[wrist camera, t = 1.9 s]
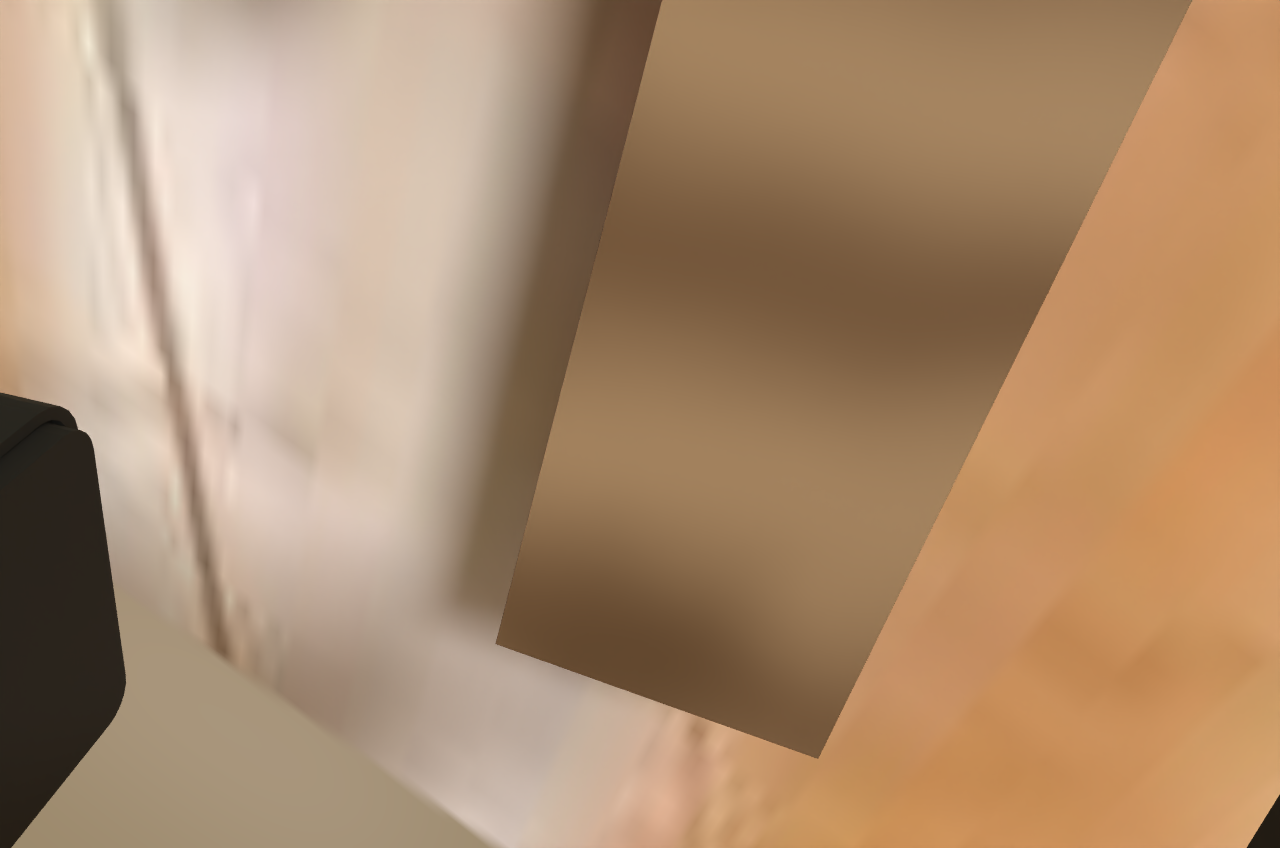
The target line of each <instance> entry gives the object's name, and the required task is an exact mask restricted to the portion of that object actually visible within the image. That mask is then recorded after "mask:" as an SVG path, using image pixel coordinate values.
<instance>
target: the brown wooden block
mask: <svg viewBox="0 0 1280 848" xmlns="http://www.w3.org/2000/svg"><path fill="white" fill-rule="evenodd" d="M1191 2H1192V0H662V2H661V6H660V10H659V14H658V18H657V22H656V26H655V29H654V33H653V37H652V41H651V45H650V49H649V53H648V56H647V60H646V64H645V68H644V72H643V76H642V80H641V84H640V87H639V91H638V95H637V99H636V103H635V107H634V111H633V114H632V118H631V122H630V126H629V130H628V134H627V138H626V142H625V145H624V149H623V153H622V157H621V161H620V165H619V169H618V172H617V176H616V180H615V184H614V188H613V192H612V196H611V200H610V203H609V207H608V211H607V215H606V219H605V223H604V227H603V230H602V234H601V238H600V242H599V246H598V250H597V254H596V258H595V261H594V265H593V269H592V273H591V277H590V281H589V285H588V288H587V292H586V296H585V300H584V304H583V308H582V312H581V315H580V319H579V323H578V327H577V331H576V335H575V339H574V343H573V346H572V350H571V354H570V358H569V362H568V366H567V370H566V373H565V377H564V381H563V385H562V389H561V393H560V397H559V401H558V404H557V408H556V412H555V416H554V420H553V424H552V428H551V431H550V435H549V439H548V443H547V447H546V451H545V455H544V459H543V462H542V466H541V470H540V474H539V478H538V482H537V486H536V489H535V493H534V497H533V501H532V505H531V509H530V513H529V517H528V520H527V524H526V528H525V532H524V536H523V540H522V544H521V547H520V551H519V555H518V559H517V563H516V567H515V571H514V575H513V578H512V582H511V586H510V590H509V594H508V598H507V602H506V605H505V609H504V613H503V617H502V621H501V625H500V629H499V633H498V636H497V640H496V644H497V645H500V646H503V647H506V648H509V649H511V650H514V651H517V652H520V653H523V654H525V655H528V656H531V657H534V658H537V659H539V660H542V661H545V662H548V663H551V664H553V665H556V666H559V667H562V668H565V669H567V670H570V671H573V672H576V673H579V674H581V675H584V676H587V677H590V678H593V679H595V680H598V681H601V682H604V683H607V684H610V685H612V686H615V687H618V688H621V689H624V690H626V691H629V692H632V693H635V694H638V695H640V696H643V697H646V698H649V699H652V700H654V701H657V702H660V703H663V704H666V705H668V706H671V707H674V708H677V709H680V710H682V711H685V712H688V713H691V714H694V715H696V716H699V717H702V718H705V719H708V720H710V721H713V722H716V723H719V724H722V725H725V726H727V727H730V728H733V729H736V730H739V731H741V732H744V733H747V734H750V735H753V736H755V737H758V738H761V739H764V740H767V741H769V742H772V743H775V744H778V745H781V746H783V747H786V748H789V749H792V750H795V751H797V752H800V753H803V754H806V755H809V756H811V757H814V758H817V759H818V758H819V756H820V754H821V752H822V750H823V748H824V746H825V744H826V742H827V740H828V738H829V736H830V734H831V732H832V730H833V728H834V726H835V723H836V721H837V719H838V717H839V715H840V713H841V711H842V709H843V707H844V705H845V703H846V701H847V699H848V697H849V695H850V693H851V691H852V689H853V687H854V685H855V683H856V681H857V679H858V677H859V675H860V673H861V671H862V669H863V667H864V665H865V663H866V661H867V659H868V657H869V655H870V653H871V650H872V648H873V646H874V644H875V642H876V640H877V638H878V636H879V634H880V632H881V630H882V628H883V626H884V624H885V622H886V620H887V618H888V616H889V614H890V612H891V610H892V608H893V606H894V604H895V602H896V600H897V598H898V596H899V594H900V592H901V590H902V588H903V586H904V584H905V582H906V580H907V578H908V575H909V573H910V571H911V569H912V567H913V565H914V563H915V561H916V559H917V557H918V555H919V553H920V551H921V549H922V547H923V545H924V543H925V541H926V539H927V537H928V535H929V533H930V531H931V529H932V527H933V525H934V523H935V521H936V519H937V517H938V515H939V513H940V511H941V509H942V507H943V505H944V503H945V500H946V498H947V496H948V494H949V492H950V490H951V488H952V486H953V484H954V482H955V480H956V478H957V476H958V474H959V472H960V470H961V468H962V466H963V464H964V462H965V460H966V458H967V456H968V454H969V452H970V450H971V448H972V446H973V444H974V442H975V440H976V438H977V436H978V434H979V432H980V430H981V427H982V425H983V423H984V421H985V419H986V417H987V415H988V413H989V411H990V409H991V407H992V405H993V403H994V401H995V399H996V397H997V395H998V393H999V391H1000V389H1001V387H1002V385H1003V383H1004V381H1005V379H1006V377H1007V375H1008V373H1009V371H1010V369H1011V367H1012V365H1013V363H1014V361H1015V359H1016V357H1017V355H1018V352H1019V350H1020V348H1021V346H1022V344H1023V342H1024V340H1025V338H1026V336H1027V334H1028V332H1029V330H1030V328H1031V326H1032V324H1033V322H1034V320H1035V318H1036V316H1037V314H1038V312H1039V310H1040V308H1041V306H1042V304H1043V302H1044V300H1045V298H1046V296H1047V294H1048V292H1049V290H1050V288H1051V286H1052V284H1053V282H1054V280H1055V277H1056V275H1057V273H1058V271H1059V269H1060V267H1061V265H1062V263H1063V261H1064V259H1065V257H1066V255H1067V253H1068V251H1069V249H1070V247H1071V245H1072V243H1073V241H1074V239H1075V237H1076V235H1077V233H1078V231H1079V229H1080V227H1081V225H1082V223H1083V221H1084V219H1085V217H1086V215H1087V213H1088V211H1089V209H1090V207H1091V204H1092V202H1093V200H1094V198H1095V196H1096V194H1097V192H1098V190H1099V188H1100V186H1101V184H1102V182H1103V180H1104V178H1105V176H1106V174H1107V172H1108V170H1109V168H1110V166H1111V164H1112V162H1113V160H1114V158H1115V156H1116V154H1117V152H1118V150H1119V148H1120V146H1121V144H1122V142H1123V140H1124V138H1125V136H1126V134H1127V132H1128V129H1129V127H1130V125H1131V123H1132V121H1133V119H1134V117H1135V115H1136V113H1137V111H1138V109H1139V107H1140V105H1141V103H1142V101H1143V99H1144V97H1145V95H1146V93H1147V91H1148V89H1149V87H1150V85H1151V83H1152V81H1153V79H1154V77H1155V75H1156V73H1157V71H1158V69H1159V67H1160V65H1161V63H1162V61H1163V59H1164V57H1165V54H1166V52H1167V50H1168V48H1169V46H1170V44H1171V42H1172V40H1173V38H1174V36H1175V34H1176V32H1177V30H1178V28H1179V26H1180V24H1181V22H1182V20H1183V18H1184V16H1185V14H1186V12H1187V10H1188V8H1189V6H1190V4H1191Z"/></svg>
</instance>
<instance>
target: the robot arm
mask: <svg viewBox="0 0 1280 848" xmlns="http://www.w3.org/2000/svg"><path fill="white" fill-rule="evenodd" d="M125 675H126V674H125V667H124V661H123V653H122V646H121V639H120V632H119V626H118V618H117V610H116V603H115V596H114V589H113V582H112V575H111V568H110V561H109V554H108V546H107V539H106V532H105V525H104V518H103V511H102V504H101V497H100V490H99V483H98V475H97V468H96V461H95V454H94V448H93V444H92V441H91V439H90V437H89V436H88V435H87V433H85V432H83V431H81V430H78V428H77V424H76V421H75V418H74V417H73V416H72V414H71V413H70V412H69V410H66V409H64V408H62V407H60V406H56V405H52V404H48V403H43V402H39V401H35V400H30V399H26V398H22V397H18V396H13V395H9V394H5V393H0V848H11V847H12V846H13V845H14V844H15V842H16V841H17V840H18V838H19V837H20V836H21V835H22V833H23V832H24V831H25V830H26V829H27V827H28V826H29V825H30V823H31V822H32V821H33V820H34V818H35V817H36V816H37V815H38V813H39V812H40V811H41V809H42V808H43V807H44V806H45V805H46V803H47V802H48V801H49V800H50V798H51V797H52V796H53V795H54V793H55V792H56V791H57V790H58V788H59V787H60V786H61V785H62V783H63V782H64V781H65V780H66V778H67V777H68V776H69V775H70V773H71V772H72V771H73V770H74V768H75V767H76V766H77V765H78V763H79V762H80V761H81V759H82V758H83V757H84V756H85V755H86V753H87V752H88V751H89V750H90V748H91V747H92V746H93V745H94V743H95V742H96V741H97V740H98V738H99V737H100V736H101V735H102V733H103V732H104V731H105V730H106V728H107V727H108V726H109V724H110V723H111V722H112V720H113V718H114V717H115V715H116V713H117V711H118V709H119V707H120V705H121V702H122V698H123V696H124V691H125V685H126V676H125ZM1247 848H1280V795H1279V797H1278V798H1277V800H1276V801H1275V803H1274V805H1273V806H1272V808H1271V809H1270V811H1269V813H1268V814H1267V816H1266V817H1265V819H1264V821H1263V822H1262V824H1261V826H1260V827H1259V829H1258V830H1257V832H1256V834H1255V835H1254V837H1253V838H1252V840H1251V842H1250V843H1249V845H1248V846H1247Z"/></svg>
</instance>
